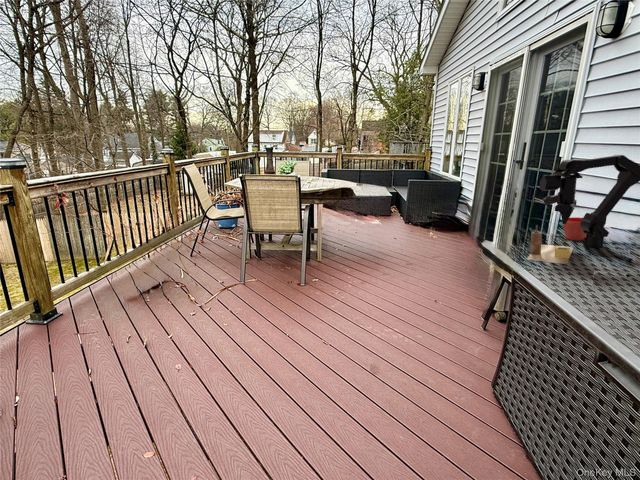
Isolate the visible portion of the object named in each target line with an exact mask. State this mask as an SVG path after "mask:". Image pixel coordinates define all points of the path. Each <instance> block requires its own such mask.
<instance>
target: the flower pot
mask: <svg viewBox="0 0 640 480" xmlns="http://www.w3.org/2000/svg"><path fill="white" fill-rule="evenodd" d="M582 218H583V217H575V216H574V217H569V219H568V221H567V223H566V224H563V229H564V236H565V239H567V240H571V241H584V237H586V233H584V232H583V229H581V227H580V222H581V219H582Z"/></svg>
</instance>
